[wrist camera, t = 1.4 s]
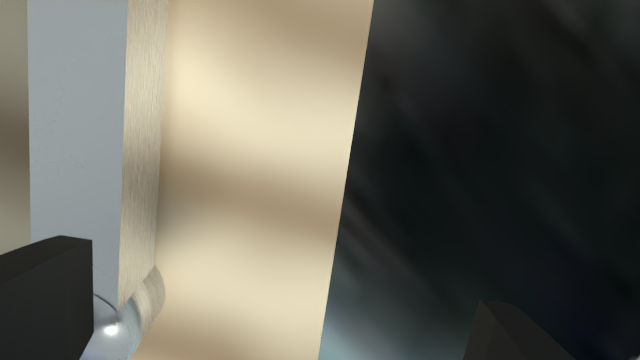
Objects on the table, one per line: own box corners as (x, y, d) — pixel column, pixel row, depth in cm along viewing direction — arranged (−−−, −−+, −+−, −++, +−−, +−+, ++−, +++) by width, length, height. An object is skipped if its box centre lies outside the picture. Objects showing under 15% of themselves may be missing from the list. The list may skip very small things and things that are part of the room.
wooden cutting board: (306, 417, 22) (299, 487, 19) (-175, 345, 23) (-266, 402, 19) (390, -126, 17) (401, -162, 13) (-254, -216, 17) (-402, -274, 14)
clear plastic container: (162, 336, 19) (119, 409, 15) (71, 323, 19) (7, 393, 15) (187, -56, 15) (138, -78, 12) (73, -72, 15) (-9, -98, 12)
